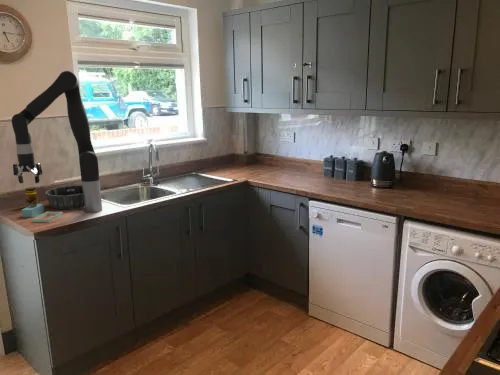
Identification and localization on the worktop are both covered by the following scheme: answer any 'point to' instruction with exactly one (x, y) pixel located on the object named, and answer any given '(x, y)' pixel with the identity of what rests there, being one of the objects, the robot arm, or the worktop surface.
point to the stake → (33, 207)
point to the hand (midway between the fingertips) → (29, 183)
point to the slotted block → (32, 210)
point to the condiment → (31, 196)
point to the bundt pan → (66, 197)
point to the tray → (38, 218)
